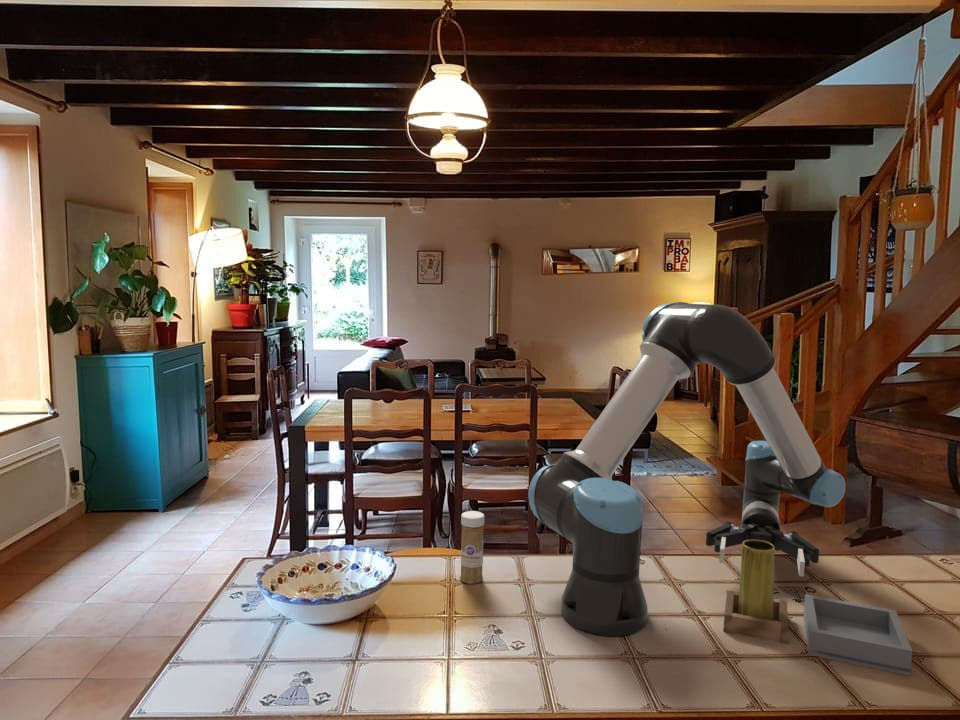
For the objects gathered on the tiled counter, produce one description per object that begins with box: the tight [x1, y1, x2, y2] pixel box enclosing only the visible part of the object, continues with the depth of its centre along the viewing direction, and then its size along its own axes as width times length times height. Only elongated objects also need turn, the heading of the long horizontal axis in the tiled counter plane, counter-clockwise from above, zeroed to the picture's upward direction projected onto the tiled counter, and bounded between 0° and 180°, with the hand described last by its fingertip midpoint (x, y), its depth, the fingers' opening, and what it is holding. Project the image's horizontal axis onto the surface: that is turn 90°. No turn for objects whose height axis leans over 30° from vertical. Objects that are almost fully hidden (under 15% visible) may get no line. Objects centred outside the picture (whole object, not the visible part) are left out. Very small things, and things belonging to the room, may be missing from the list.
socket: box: [723, 589, 790, 645], centre depth 117 cm, size 10×10×3 cm
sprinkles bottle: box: [459, 510, 485, 585], centre depth 131 cm, size 5×5×14 cm
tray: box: [803, 593, 913, 676], centre depth 111 cm, size 14×14×4 cm
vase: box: [737, 539, 776, 621], centre depth 116 cm, size 6×6×14 cm
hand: (761, 562), depth 123 cm, fingers open, 13 cm apart
